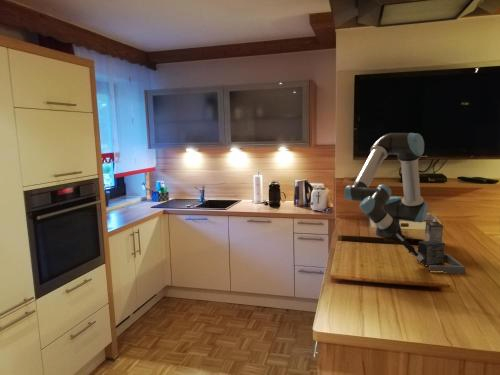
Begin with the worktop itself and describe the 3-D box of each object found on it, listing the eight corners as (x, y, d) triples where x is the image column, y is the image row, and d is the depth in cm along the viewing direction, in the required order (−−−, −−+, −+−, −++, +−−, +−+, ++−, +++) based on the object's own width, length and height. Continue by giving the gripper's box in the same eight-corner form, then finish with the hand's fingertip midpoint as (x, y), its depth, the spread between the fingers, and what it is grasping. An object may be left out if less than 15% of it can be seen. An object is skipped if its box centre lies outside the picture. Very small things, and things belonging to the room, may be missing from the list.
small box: (433, 259, 186) (435, 239, 184) (444, 264, 180) (446, 243, 178) (416, 261, 183) (417, 240, 181) (425, 266, 177) (427, 244, 175)
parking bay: (416, 258, 188) (416, 253, 187) (447, 259, 186) (448, 253, 186) (430, 272, 170) (430, 266, 169) (465, 273, 169) (465, 267, 168)
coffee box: (423, 250, 201) (425, 220, 198) (436, 251, 199) (438, 221, 197) (427, 256, 192) (430, 225, 189) (441, 256, 191) (443, 226, 188)
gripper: (377, 226, 184) (410, 259, 185) (384, 233, 171) (419, 269, 172) (389, 215, 183) (422, 249, 184) (397, 222, 170) (432, 258, 171)
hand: (421, 259), depth 178 cm, fingers closed
